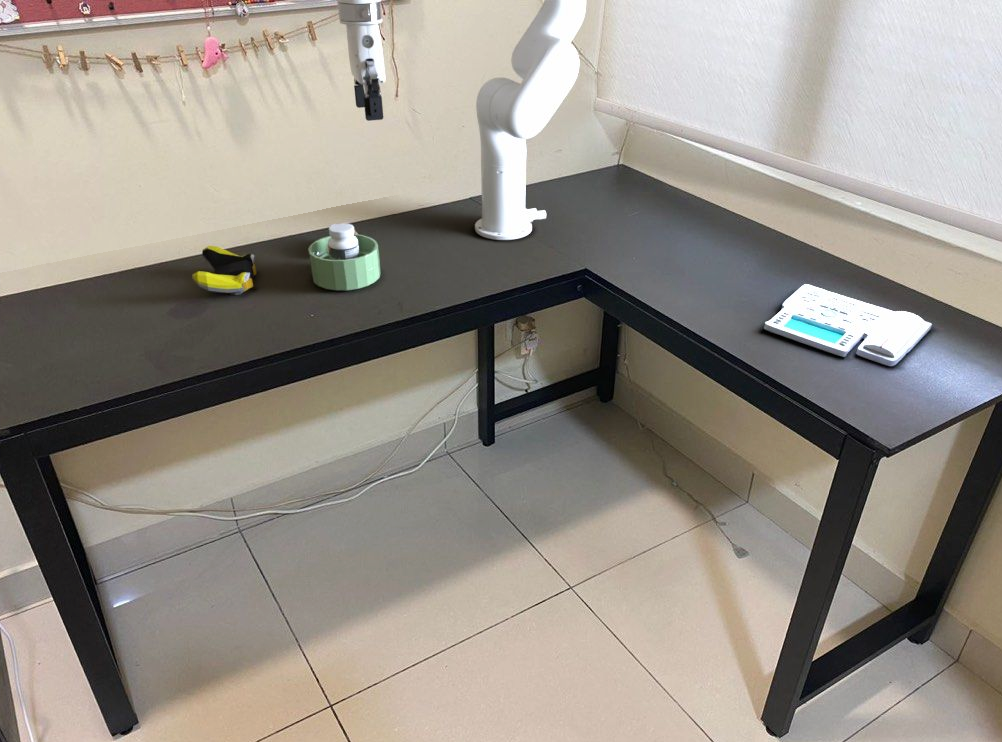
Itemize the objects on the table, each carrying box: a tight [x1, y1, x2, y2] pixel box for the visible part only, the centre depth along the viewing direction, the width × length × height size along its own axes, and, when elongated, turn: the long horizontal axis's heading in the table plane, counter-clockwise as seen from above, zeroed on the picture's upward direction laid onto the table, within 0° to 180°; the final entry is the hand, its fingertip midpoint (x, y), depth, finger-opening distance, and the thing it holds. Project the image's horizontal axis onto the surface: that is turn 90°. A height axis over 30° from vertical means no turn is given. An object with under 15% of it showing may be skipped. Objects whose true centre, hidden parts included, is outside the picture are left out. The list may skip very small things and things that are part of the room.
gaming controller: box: [191, 245, 257, 296], centre depth 152 cm, size 15×6×10 cm
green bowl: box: [307, 233, 381, 291], centre depth 154 cm, size 13×13×6 cm
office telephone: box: [763, 283, 933, 367], centre depth 139 cm, size 23×3×20 cm
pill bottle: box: [328, 222, 360, 260], centre depth 153 cm, size 6×6×10 cm
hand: (369, 113), depth 150 cm, fingers open, 9 cm apart
